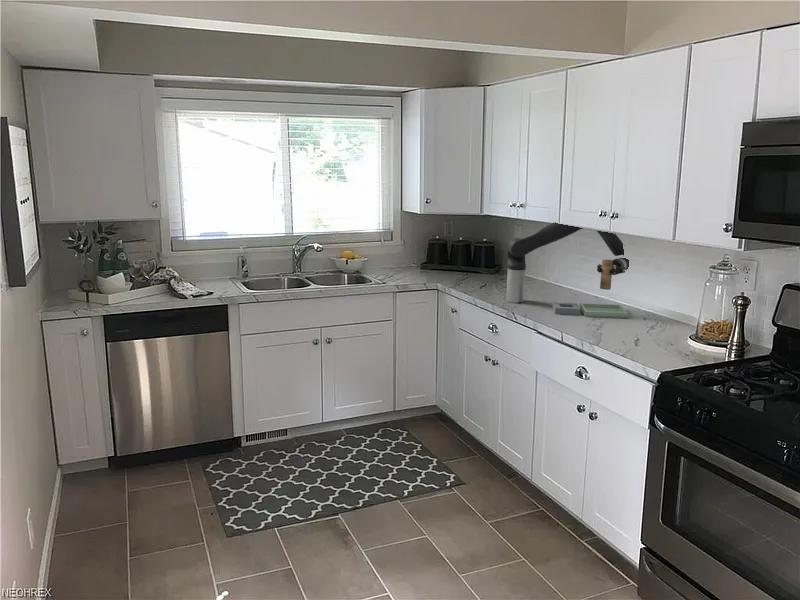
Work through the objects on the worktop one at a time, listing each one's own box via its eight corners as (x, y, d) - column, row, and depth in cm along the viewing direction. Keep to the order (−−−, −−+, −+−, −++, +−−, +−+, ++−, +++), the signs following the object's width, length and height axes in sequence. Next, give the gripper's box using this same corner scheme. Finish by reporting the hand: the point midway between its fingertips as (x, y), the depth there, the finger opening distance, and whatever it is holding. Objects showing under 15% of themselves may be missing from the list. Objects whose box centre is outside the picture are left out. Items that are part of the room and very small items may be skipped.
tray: (579, 307, 333) (580, 303, 333) (620, 309, 331) (620, 304, 331) (585, 316, 316) (585, 311, 315) (628, 318, 314) (628, 313, 313)
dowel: (599, 287, 324) (601, 259, 320) (609, 287, 323) (611, 259, 320) (600, 289, 319) (603, 261, 316) (611, 289, 318) (613, 261, 315)
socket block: (552, 308, 332) (552, 302, 331) (576, 309, 331) (576, 303, 330) (554, 313, 320) (555, 307, 320) (580, 314, 319) (580, 308, 318)
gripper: (603, 257, 333) (591, 261, 320) (631, 260, 325) (620, 265, 312) (602, 272, 335) (589, 276, 322) (630, 275, 327) (618, 280, 313)
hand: (604, 271), depth 317 cm, fingers closed on dowel, 5 cm apart
